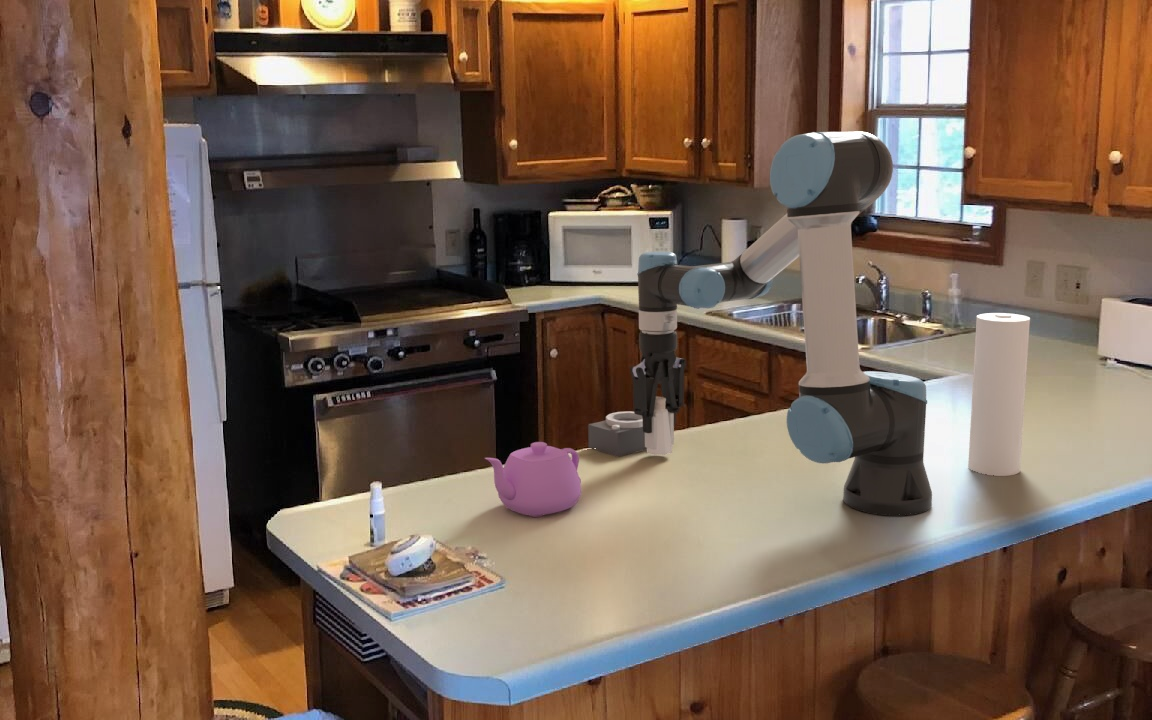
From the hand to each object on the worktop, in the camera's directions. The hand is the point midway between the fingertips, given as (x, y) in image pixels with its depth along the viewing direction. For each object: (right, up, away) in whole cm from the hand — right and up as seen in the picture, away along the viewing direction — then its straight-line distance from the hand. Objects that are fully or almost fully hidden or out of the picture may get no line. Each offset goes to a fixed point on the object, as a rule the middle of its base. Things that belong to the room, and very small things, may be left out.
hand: (659, 445), depth 239 cm
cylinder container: (+64, -4, -10) cm, 64 cm away
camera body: (-6, -1, +9) cm, 11 cm away
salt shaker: (0, -1, 0) cm, 1 cm away
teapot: (-24, -9, -29) cm, 39 cm away
